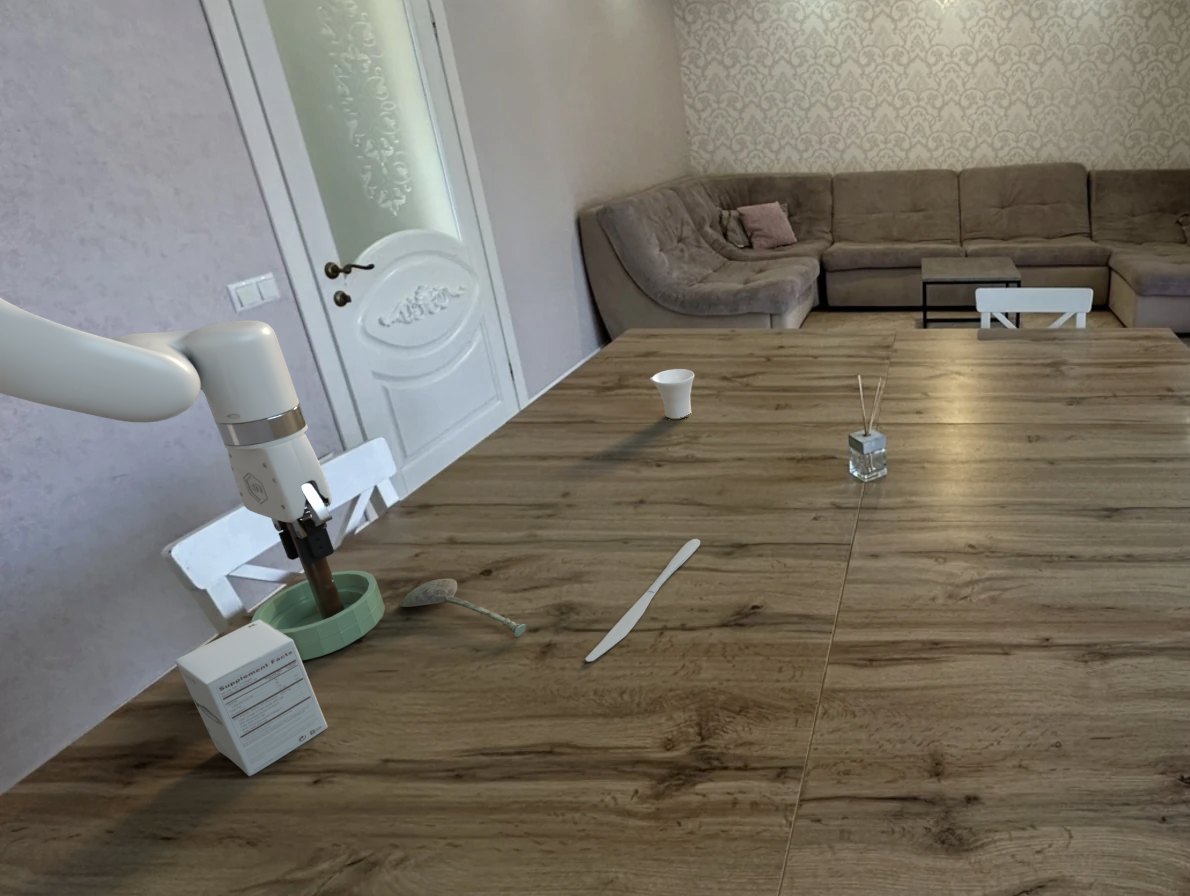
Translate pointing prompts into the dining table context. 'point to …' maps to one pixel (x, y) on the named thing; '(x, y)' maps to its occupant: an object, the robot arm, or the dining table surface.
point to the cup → (675, 391)
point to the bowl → (304, 622)
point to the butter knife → (642, 603)
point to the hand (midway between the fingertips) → (311, 555)
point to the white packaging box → (253, 695)
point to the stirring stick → (320, 582)
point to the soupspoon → (452, 601)
